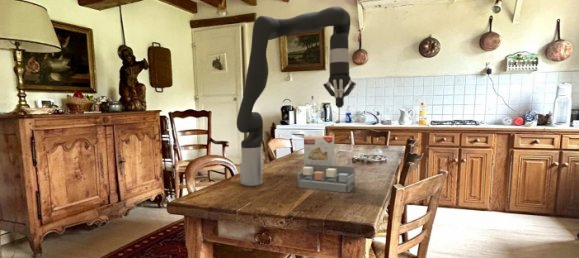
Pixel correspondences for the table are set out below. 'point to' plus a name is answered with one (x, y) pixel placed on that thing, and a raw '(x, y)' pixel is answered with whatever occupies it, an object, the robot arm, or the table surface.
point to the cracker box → (319, 150)
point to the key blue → (342, 177)
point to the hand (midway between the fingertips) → (339, 107)
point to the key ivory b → (331, 172)
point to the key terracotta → (318, 175)
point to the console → (327, 178)
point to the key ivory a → (307, 170)
